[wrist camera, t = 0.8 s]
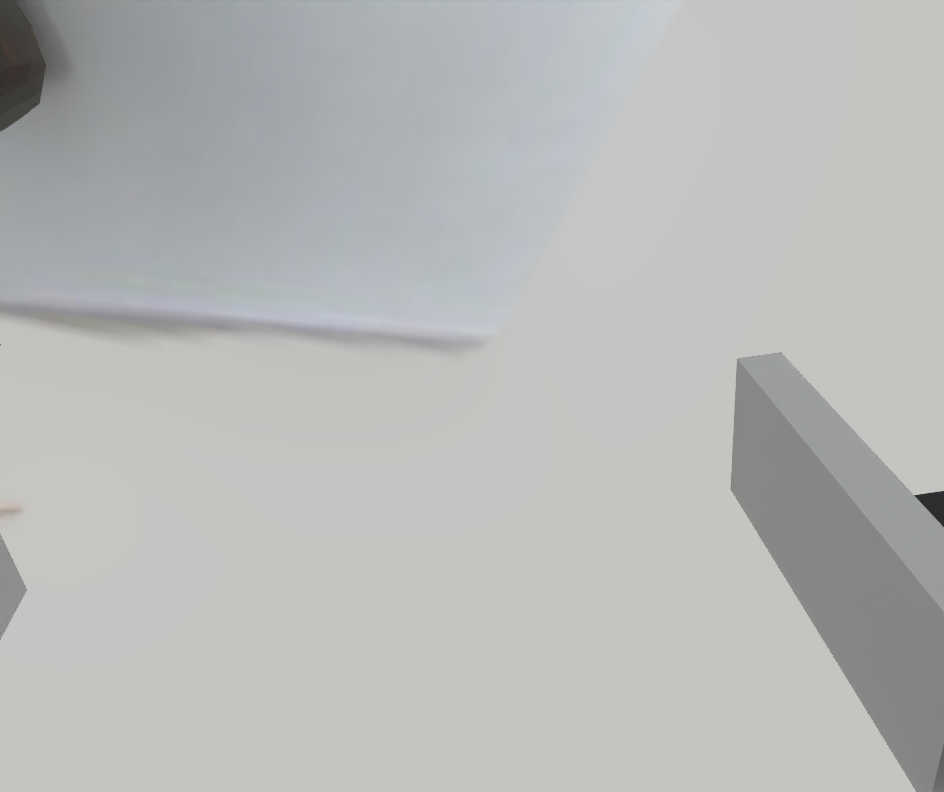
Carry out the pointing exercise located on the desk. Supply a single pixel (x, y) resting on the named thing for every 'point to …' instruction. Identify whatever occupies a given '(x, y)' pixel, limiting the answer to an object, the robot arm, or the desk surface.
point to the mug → (18, 65)
